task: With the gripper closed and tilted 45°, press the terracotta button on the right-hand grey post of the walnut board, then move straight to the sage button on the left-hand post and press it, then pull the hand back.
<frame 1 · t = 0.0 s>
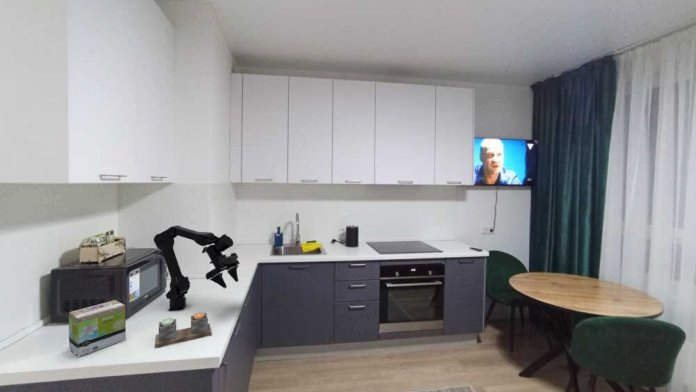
hand: (231, 284, 143), 15 cm above the worktop, tool tilted 35°, fingers open, 9 cm apart
tea box: (98, 345, 117), on the worktop
sage button: (167, 322, 120), point 7 cm above the worktop, slide at 0.0 cm
terracotta button: (199, 316, 126), point 7 cm above the worktop, slide at 0.0 cm
button board: (184, 336, 124), on the worktop
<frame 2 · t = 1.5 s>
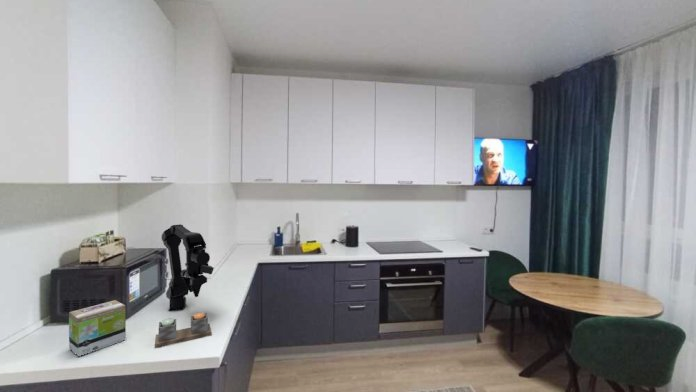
hand: (193, 294, 138), 12 cm above the worktop, tool pointing down, fingers open, 8 cm apart
nothing on the worktop moved.
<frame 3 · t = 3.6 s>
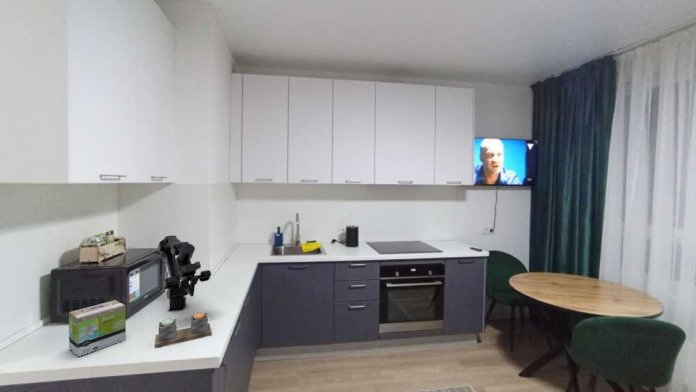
hand: (192, 295, 132), 13 cm above the worktop, tool tilted 45°, fingers closed
nothing on the worktop moved.
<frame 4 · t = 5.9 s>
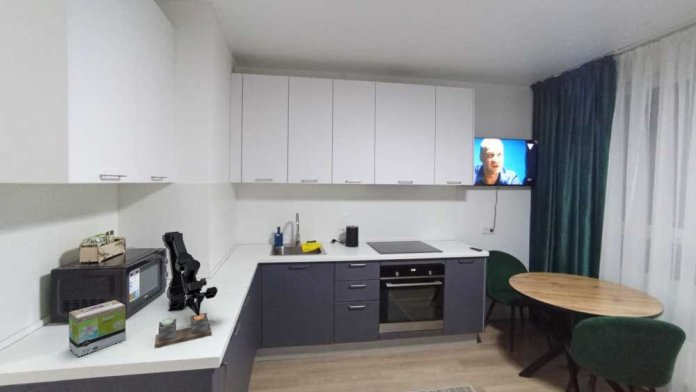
hand: (198, 314, 127), 8 cm above the worktop, tool tilted 45°, fingers closed
terracotta button: (199, 318, 126), point 6 cm above the worktop, slide at 0.7 cm
everything else where it was.
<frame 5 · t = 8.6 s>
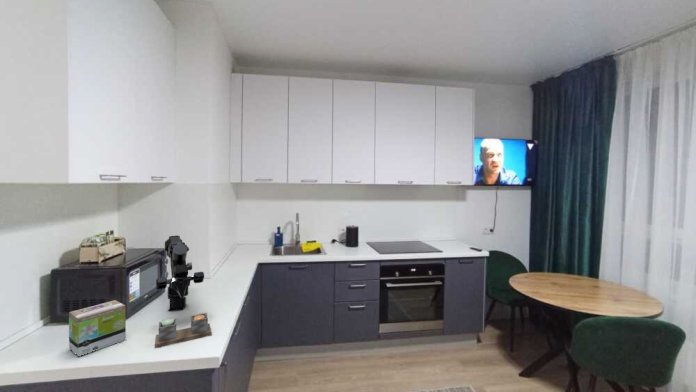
hand: (182, 297, 130), 14 cm above the worktop, tool tilted 45°, fingers closed
terracotta button: (199, 319, 126), point 6 cm above the worktop, slide at 1.2 cm, touching button board
everything else where it was.
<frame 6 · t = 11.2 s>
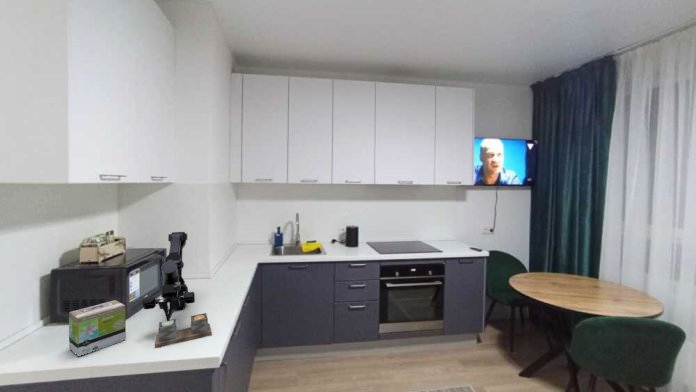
hand: (167, 320, 121), 8 cm above the worktop, tool tilted 45°, fingers closed, pressing on sage button
sage button: (167, 324, 120), point 7 cm above the worktop, slide at 0.6 cm, touching gripper
everything else where it was.
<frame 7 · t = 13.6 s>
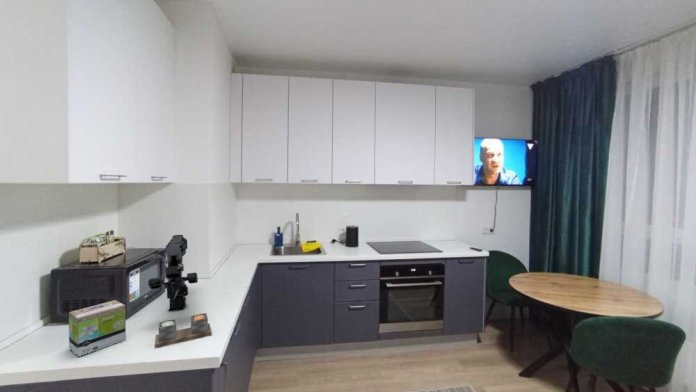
hand: (173, 299, 129), 13 cm above the worktop, tool tilted 40°, fingers closed
sage button: (167, 325, 120), point 6 cm above the worktop, slide at 1.2 cm, touching button board
everything else where it was.
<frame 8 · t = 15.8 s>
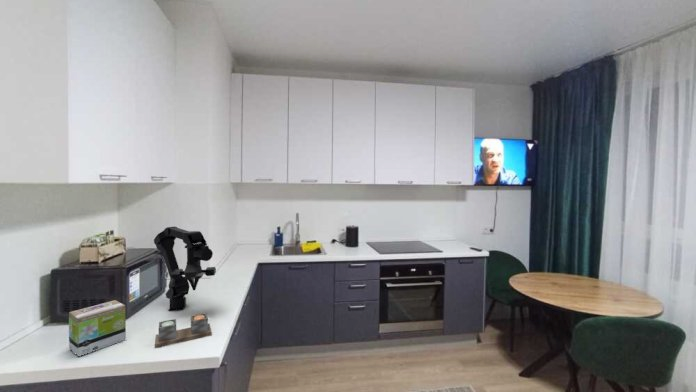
hand: (194, 290, 144), 12 cm above the worktop, tool pointing down, fingers closed
nothing on the worktop moved.
at the end: terracotta button slide at 1.2 cm; sage button slide at 1.2 cm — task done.
